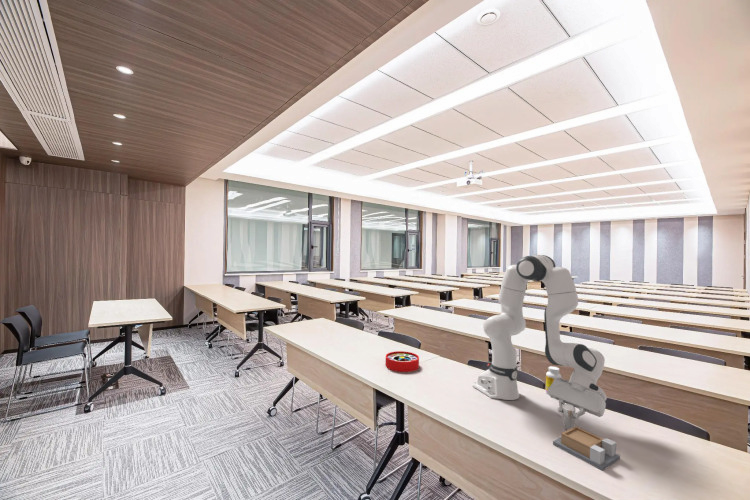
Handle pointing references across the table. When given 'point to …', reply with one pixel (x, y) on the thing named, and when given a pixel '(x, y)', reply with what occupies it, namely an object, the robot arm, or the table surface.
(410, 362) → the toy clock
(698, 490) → the table surface
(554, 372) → the supplement bottle
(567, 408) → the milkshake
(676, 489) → the table surface
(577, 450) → the baseplate
